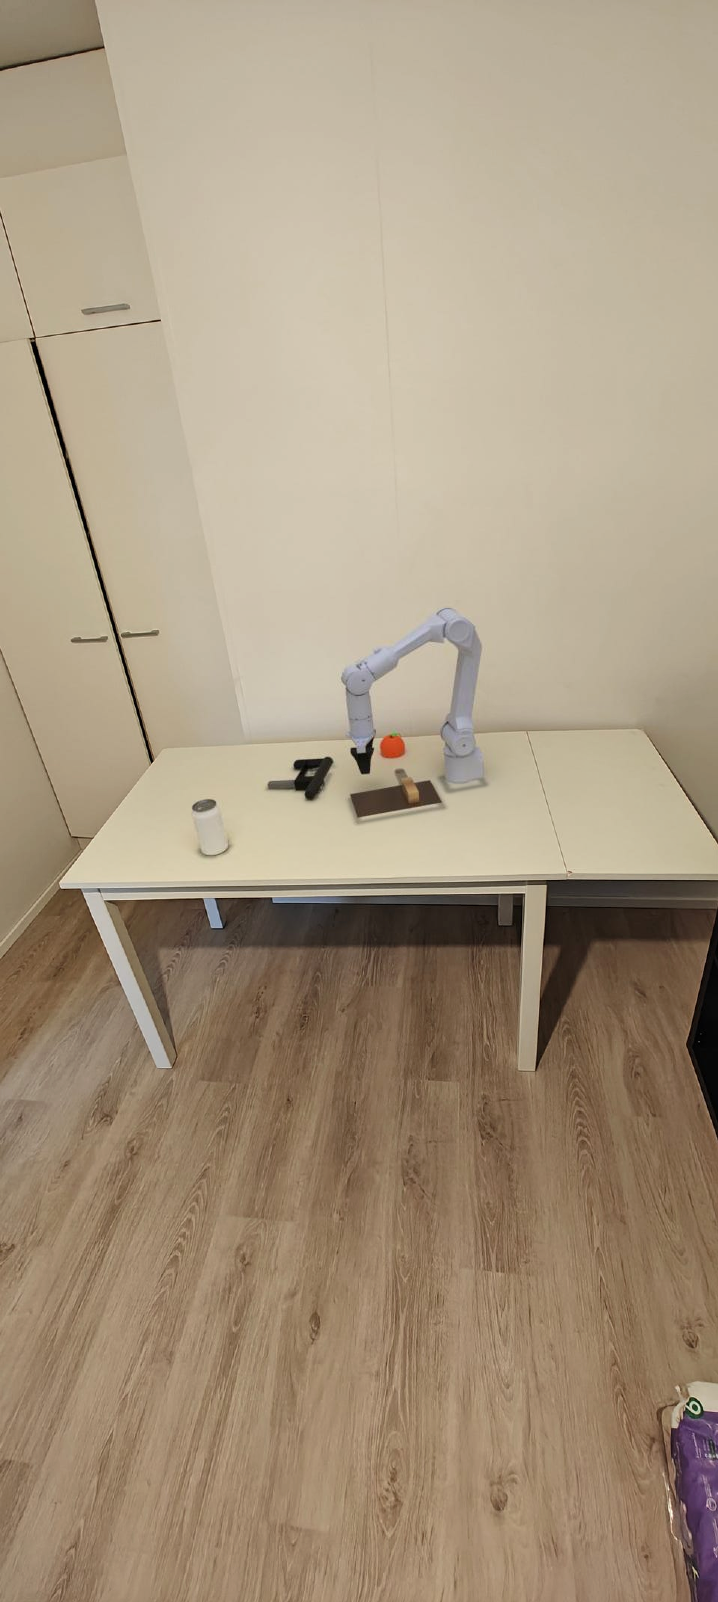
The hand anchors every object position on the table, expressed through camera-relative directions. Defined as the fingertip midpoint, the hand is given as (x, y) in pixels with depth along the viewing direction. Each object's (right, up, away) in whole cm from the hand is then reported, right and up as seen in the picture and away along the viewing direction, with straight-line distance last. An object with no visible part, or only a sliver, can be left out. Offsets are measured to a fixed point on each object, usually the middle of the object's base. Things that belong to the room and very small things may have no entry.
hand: (366, 766), depth 175 cm
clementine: (+8, +4, +25) cm, 26 cm away
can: (-36, -20, -7) cm, 42 cm away
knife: (+10, -5, +6) cm, 13 cm away
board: (+7, -9, +2) cm, 12 cm away
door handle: (-17, -4, +18) cm, 25 cm away
